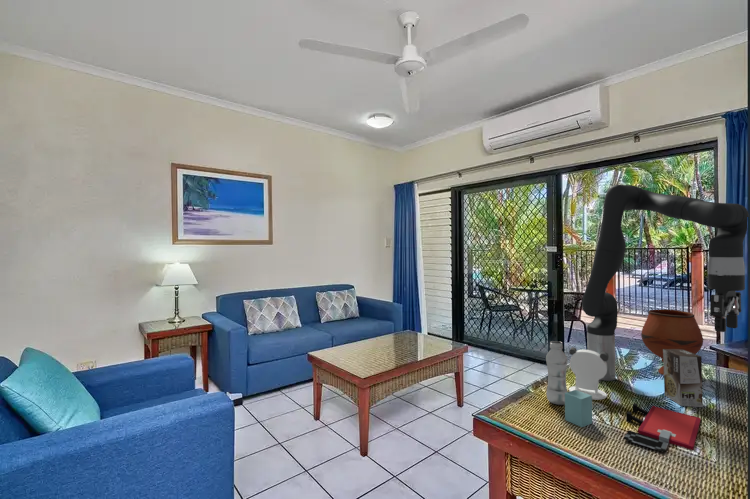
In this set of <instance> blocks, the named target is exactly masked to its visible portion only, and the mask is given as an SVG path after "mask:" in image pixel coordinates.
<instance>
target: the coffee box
mask: <svg viewBox="0 0 750 499" xmlns="http://www.w3.org/2000/svg"><path fill="white" fill-rule="evenodd" d="M662 364H663V365H664V375H663V384H664V385H663V387H664V390H663V391H664V397H667V398H668V399H669V400H671V401H673V402H675V403H676V404H678V405H679V406H681V407H694V408H703V406H704V405H703V369H702V368H703V367H702V356H700V355H699V354H697V353H696V354H694V353H691V352H689V351H686V350H683V349H663V362H662Z"/></svg>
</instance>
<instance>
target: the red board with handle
mask: <svg viewBox="0 0 750 499" xmlns="http://www.w3.org/2000/svg"><path fill="white" fill-rule="evenodd" d="M638 412H639V413H641V414H643V415H644V416H645V417H644V419H640V418H638V417H637V416H634V415H632V413H634V414H637V413H638ZM701 420H702V419H701V417H698V416H695V415H690V414H687V413H682V412H679V411H675V410H672V409H671V410H670V409H667V408H663V407H659V406H656V405H651V407H650V409H649V411H648V410H645V409H644V408H642V407H640V406H638V403H635V402H633V404H632V412H631V411H627V412H626V420H625V421H626V423H631V422H632V421H633V422H634V423H637V424H638V425H640V426H639V427H638V428H637V432H636V431H633V430H628V431H627V432H626V434H625V435H624V437H623V438H622V439H623V440H625V441H629V442H630V443H634V444H638V445H641V446H643V447H647V448H650V449H653V450H655V451H659V452H662V453H666V452H665V451H666V450H667V447H668V445H669V444H671V445H674V446H678V447H680V448H685V449H688V450H691V451H694V448H695V445H696V440H697V436H698V433H699V428H700V424H701Z"/></svg>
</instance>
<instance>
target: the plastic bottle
mask: <svg viewBox="0 0 750 499" xmlns="http://www.w3.org/2000/svg"><path fill="white" fill-rule="evenodd" d="M549 344H550V345H549V348H550V350H549V351H548V352H547V353H546V357H545V360H546V368H547V387H546V399H547V401H548V402H549V403H550V404H554V405H558V406H565V393H567V392H568V389H567V388H568V387H567V367H568V358H567V357H568V356H567V355H566V354H565V352H564V351H563V349H564V346H563V342H562V341H556V340H552V341H550V342H549Z"/></svg>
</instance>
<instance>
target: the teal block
mask: <svg viewBox="0 0 750 499" xmlns="http://www.w3.org/2000/svg"><path fill="white" fill-rule="evenodd" d="M564 421H567V422H568V423H570V424H573V425H576V426H579V427H580V428H584V427H586V426H589V425H591V424H593V399H592V396H591V395H588V394H586V393H583V392H580V391H577V390H573V391H567V393H565V405H564Z"/></svg>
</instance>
